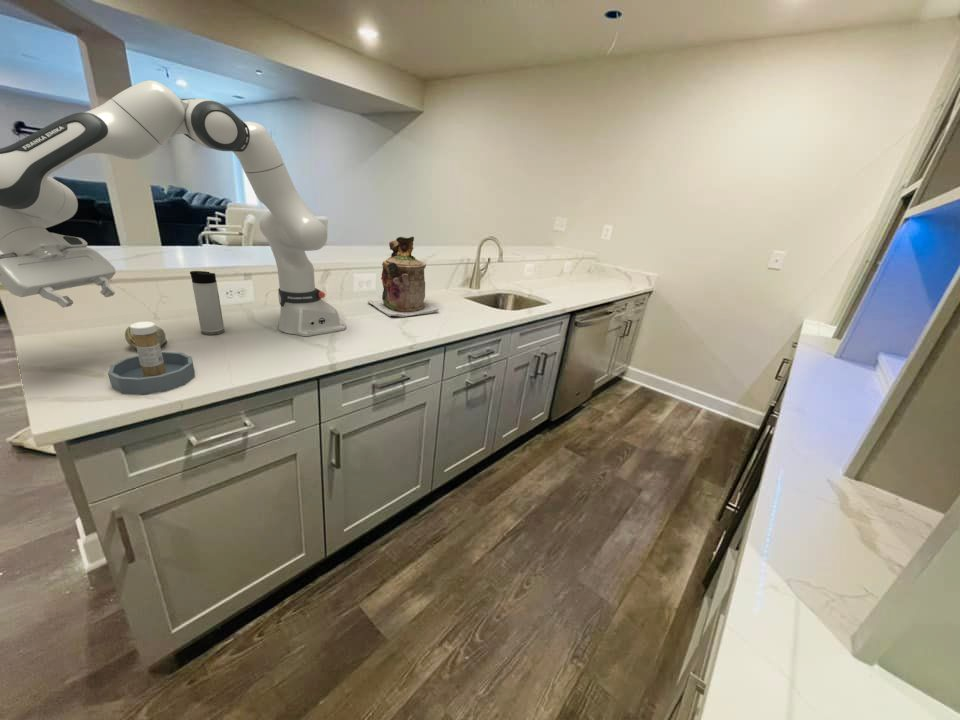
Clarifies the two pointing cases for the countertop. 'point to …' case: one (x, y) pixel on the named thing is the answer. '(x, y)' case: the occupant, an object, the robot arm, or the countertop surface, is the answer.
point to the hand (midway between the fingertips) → (90, 300)
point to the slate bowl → (131, 381)
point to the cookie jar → (403, 282)
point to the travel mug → (207, 302)
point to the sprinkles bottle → (148, 348)
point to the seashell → (159, 333)
